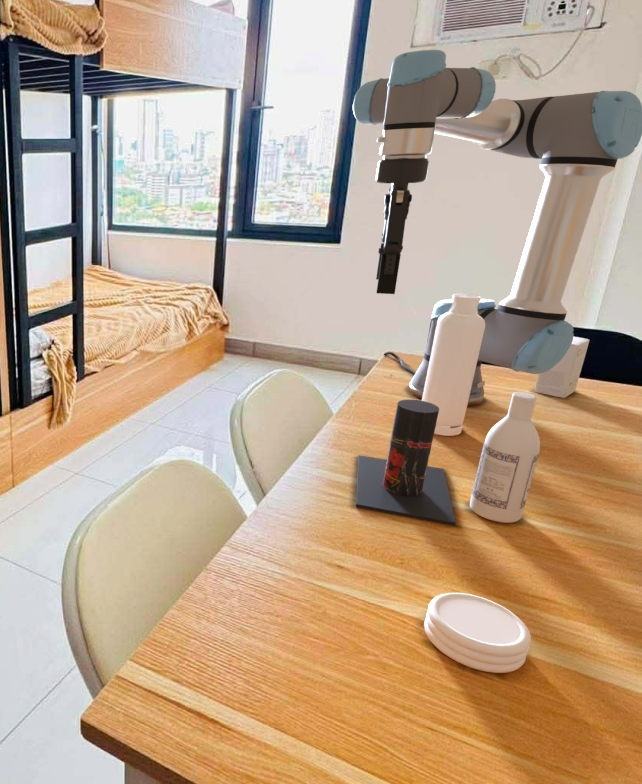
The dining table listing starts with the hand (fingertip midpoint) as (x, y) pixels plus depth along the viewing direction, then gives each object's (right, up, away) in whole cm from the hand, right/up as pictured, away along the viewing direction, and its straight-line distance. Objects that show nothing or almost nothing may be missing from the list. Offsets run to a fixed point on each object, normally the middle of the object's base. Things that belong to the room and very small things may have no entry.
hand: (384, 286), depth 110 cm
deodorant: (+1, -35, -4) cm, 35 cm away
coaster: (-9, -48, -37) cm, 62 cm away
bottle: (+22, -26, +21) cm, 41 cm away
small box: (+62, -19, +41) cm, 77 cm away
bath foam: (+12, -38, -10) cm, 41 cm away
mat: (+1, -35, -3) cm, 35 cm away
